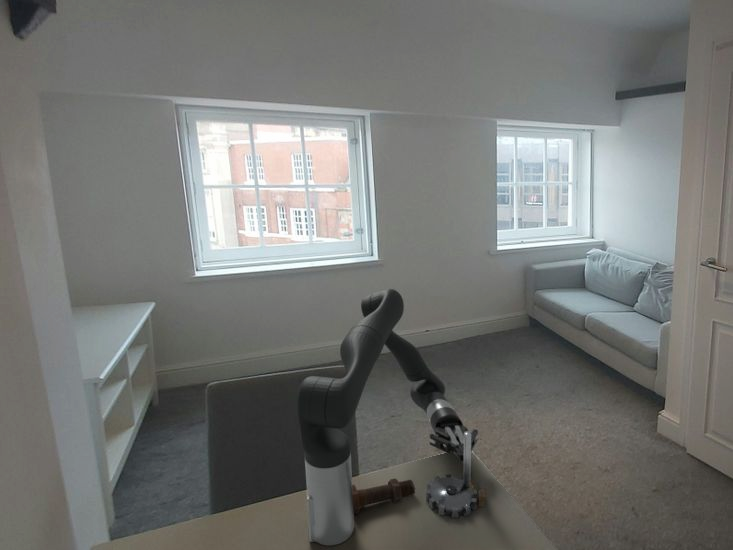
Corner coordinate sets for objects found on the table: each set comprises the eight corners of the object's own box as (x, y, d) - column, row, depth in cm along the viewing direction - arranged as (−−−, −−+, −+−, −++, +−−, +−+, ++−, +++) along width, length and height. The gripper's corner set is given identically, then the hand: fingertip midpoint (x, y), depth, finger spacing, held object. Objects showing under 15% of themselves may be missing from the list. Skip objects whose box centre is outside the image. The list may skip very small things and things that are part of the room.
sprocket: (446, 525, 87) (446, 461, 84) (416, 491, 97) (415, 433, 94) (488, 505, 92) (489, 444, 89) (455, 475, 102) (455, 420, 99)
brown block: (479, 506, 92) (479, 496, 91) (478, 499, 94) (478, 489, 93) (484, 506, 92) (484, 496, 91) (484, 500, 93) (484, 490, 93)
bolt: (414, 503, 96) (350, 518, 92) (407, 481, 100) (345, 494, 95) (419, 492, 92) (354, 507, 88) (412, 470, 96) (348, 483, 92)
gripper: (419, 408, 111) (438, 447, 94) (467, 404, 112) (494, 441, 95) (419, 434, 112) (438, 476, 95) (467, 429, 114) (493, 470, 97)
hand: (466, 459), depth 95 cm, fingers closed
